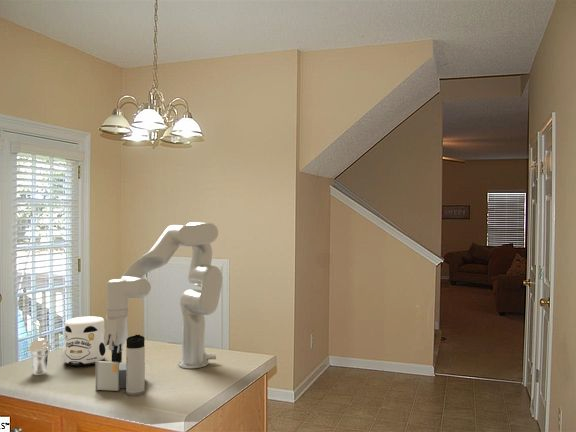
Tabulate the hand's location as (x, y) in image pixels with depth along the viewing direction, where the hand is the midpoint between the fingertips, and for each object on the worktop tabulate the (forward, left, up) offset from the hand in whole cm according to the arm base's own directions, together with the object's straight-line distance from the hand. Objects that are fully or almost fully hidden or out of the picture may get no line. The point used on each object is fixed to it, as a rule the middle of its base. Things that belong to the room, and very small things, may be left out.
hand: (116, 362), depth 185 cm
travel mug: (-7, +8, -9) cm, 14 cm away
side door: (+3, +5, -8) cm, 10 cm away
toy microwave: (-2, -2, -9) cm, 9 cm away
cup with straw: (+31, -22, -9) cm, 39 cm away
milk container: (+16, -33, -9) cm, 38 cm away
